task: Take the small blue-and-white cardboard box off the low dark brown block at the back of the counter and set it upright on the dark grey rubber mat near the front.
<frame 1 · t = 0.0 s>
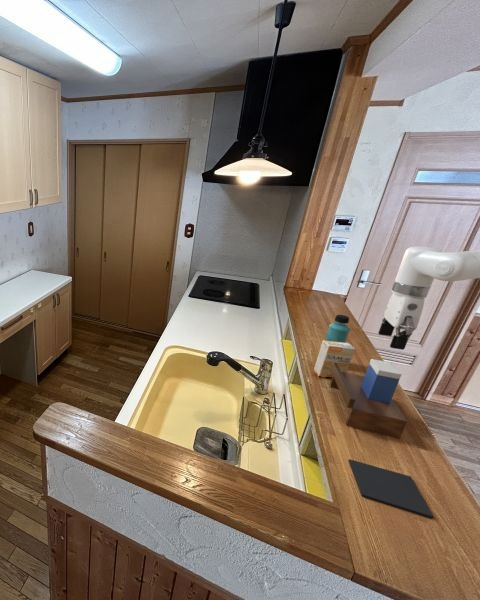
hand: (390, 341, 100), 20 cm above the worktop, tool pointing down, fingers open, 9 cm apart
supplement box: (328, 376, 118), on the worktop
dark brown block: (360, 408, 101), on the worktop
mat: (386, 487, 75), on the worktop
beverage bottle: (328, 363, 127), on the worktop
box: (374, 394, 98), point 6 cm above the worktop, touching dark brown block
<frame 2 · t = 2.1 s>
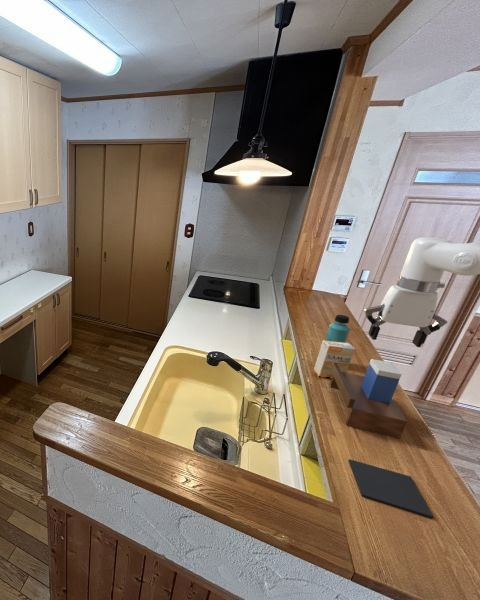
hand: (393, 341, 92), 24 cm above the worktop, tool pointing down, fingers open, 9 cm apart
nothing on the worktop moved.
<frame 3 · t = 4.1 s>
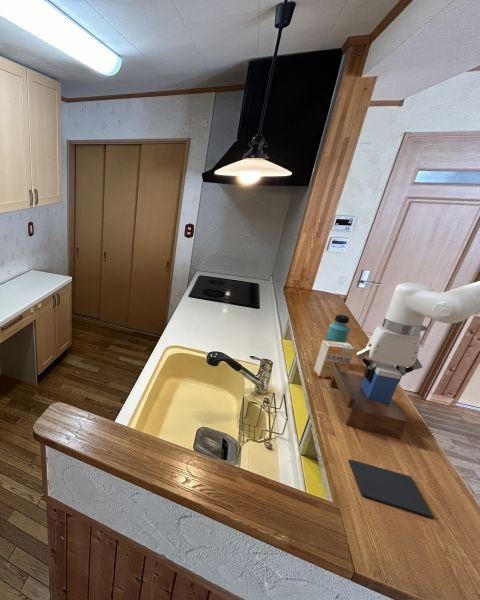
hand: (379, 381, 97), 11 cm above the worktop, tool pointing down, fingers closed on box, 5 cm apart
box: (374, 394, 98), point 6 cm above the worktop, touching gripper, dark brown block
everything else where it was.
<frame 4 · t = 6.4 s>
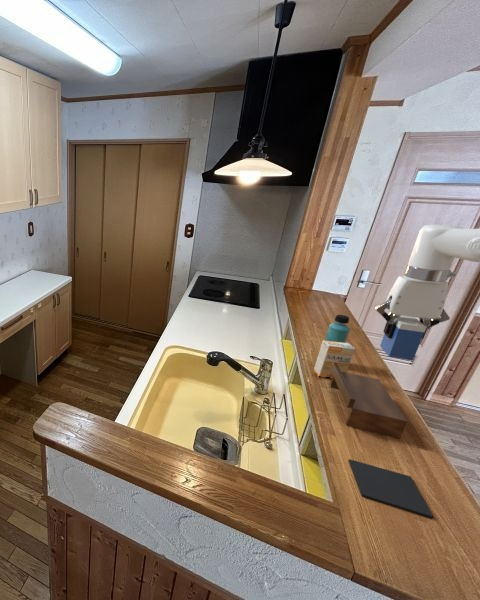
hand: (401, 337, 88), 27 cm above the worktop, tool pointing down, fingers closed on box, 5 cm apart
box: (395, 353, 90), point 22 cm above the worktop, touching gripper
everything else where it was.
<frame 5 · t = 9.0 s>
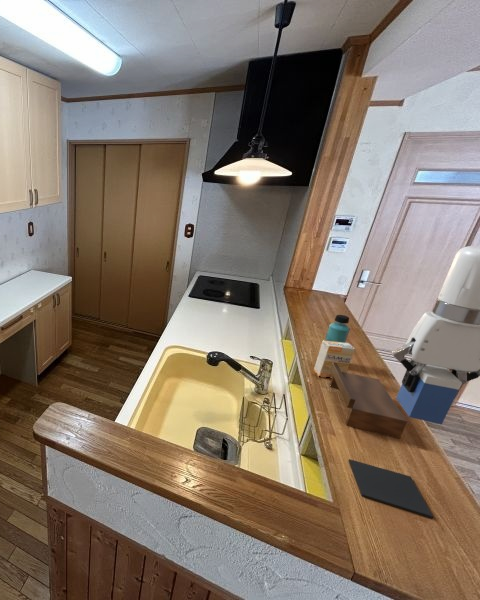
hand: (426, 391, 67), 26 cm above the worktop, tool pointing down, fingers closed on box, 5 cm apart
box: (417, 410, 69), point 21 cm above the worktop, touching gripper
everything else where it was.
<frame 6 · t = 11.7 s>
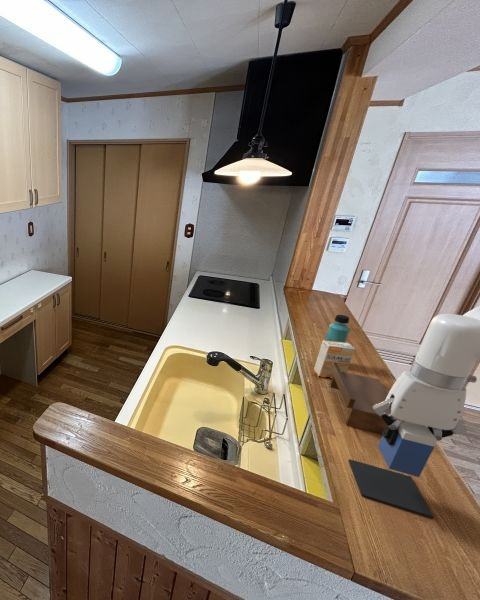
hand: (404, 444, 71), 13 cm above the worktop, tool pointing down, fingers closed on box, 5 cm apart
box: (397, 461, 73), point 8 cm above the worktop, touching gripper
everything else where it was.
when the fingers open (5 cm above the worktop, at t = 13.8 s): box stays where it is, resting on mat.
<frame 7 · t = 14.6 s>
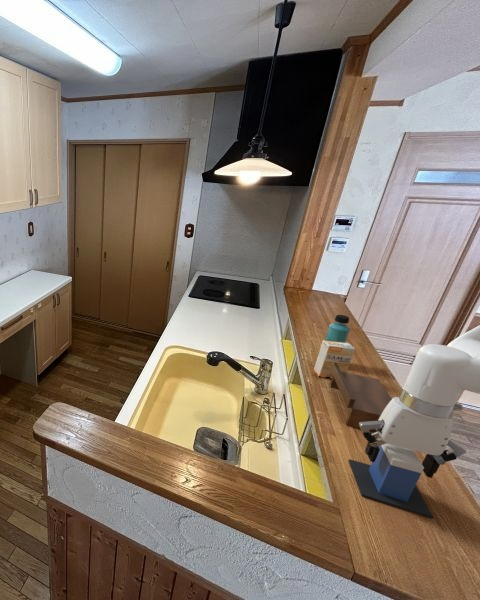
hand: (397, 464, 73), 7 cm above the worktop, tool pointing down, fingers open, 9 cm apart
box: (386, 485, 75), point 1 cm above the worktop, touching mat
everything else where it was.
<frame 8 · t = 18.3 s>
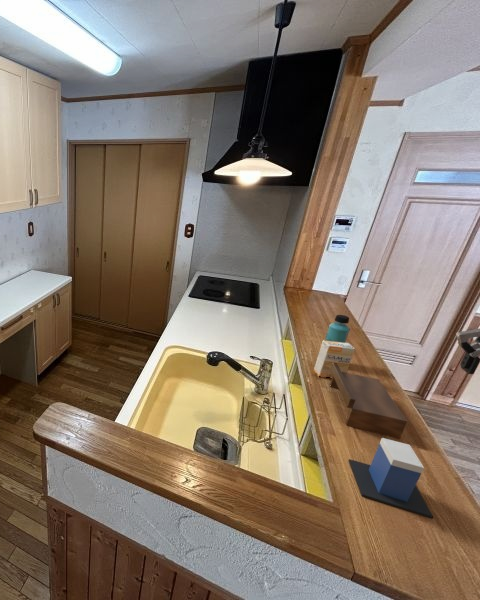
nothing on the worktop moved.
at the end: box inside the target area on the mat (0.1 cm from its centre), point 0.6 cm above the mat's base; box tilted 0°; box touching mat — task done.
